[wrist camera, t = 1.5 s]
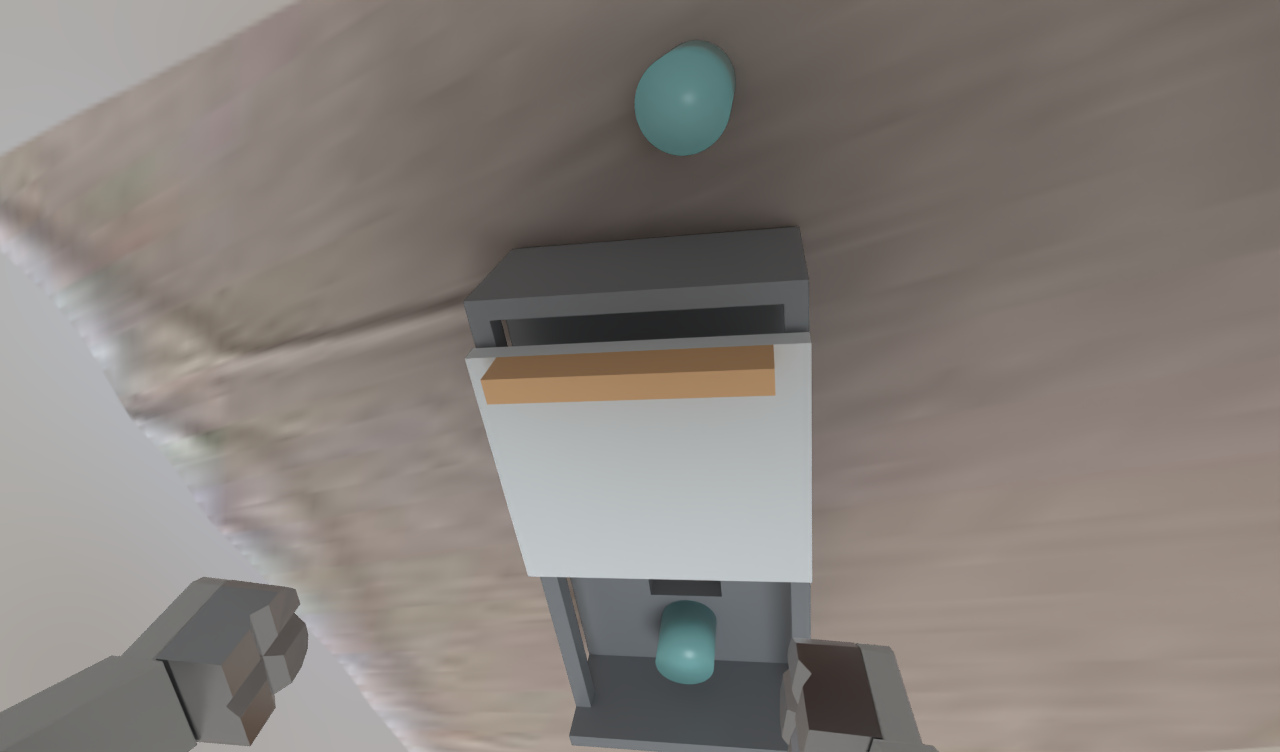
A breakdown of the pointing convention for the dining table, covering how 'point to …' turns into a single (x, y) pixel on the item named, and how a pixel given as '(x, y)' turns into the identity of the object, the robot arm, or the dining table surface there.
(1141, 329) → the dining table surface
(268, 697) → the robot arm
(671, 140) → the teal rounded capsule
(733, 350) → the lid
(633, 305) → the housing
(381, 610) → the dining table surface
